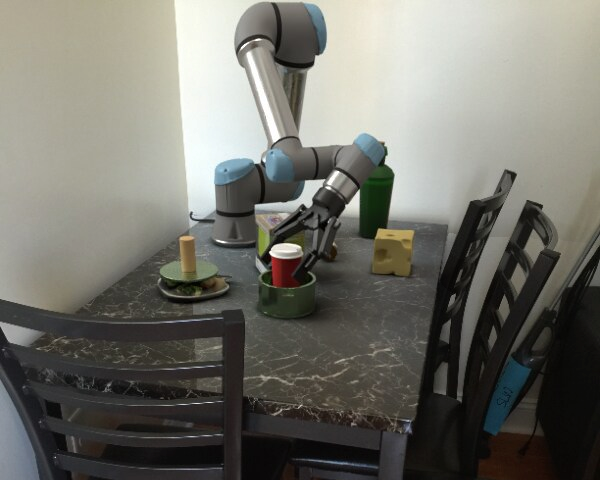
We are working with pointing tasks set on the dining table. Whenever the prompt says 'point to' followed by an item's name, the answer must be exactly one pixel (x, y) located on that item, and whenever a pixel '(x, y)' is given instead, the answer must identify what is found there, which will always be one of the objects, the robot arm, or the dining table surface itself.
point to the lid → (188, 265)
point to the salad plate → (193, 289)
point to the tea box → (272, 236)
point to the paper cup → (285, 264)
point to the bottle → (376, 199)
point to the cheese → (393, 252)
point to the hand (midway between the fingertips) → (278, 270)
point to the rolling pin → (332, 252)
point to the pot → (286, 297)
